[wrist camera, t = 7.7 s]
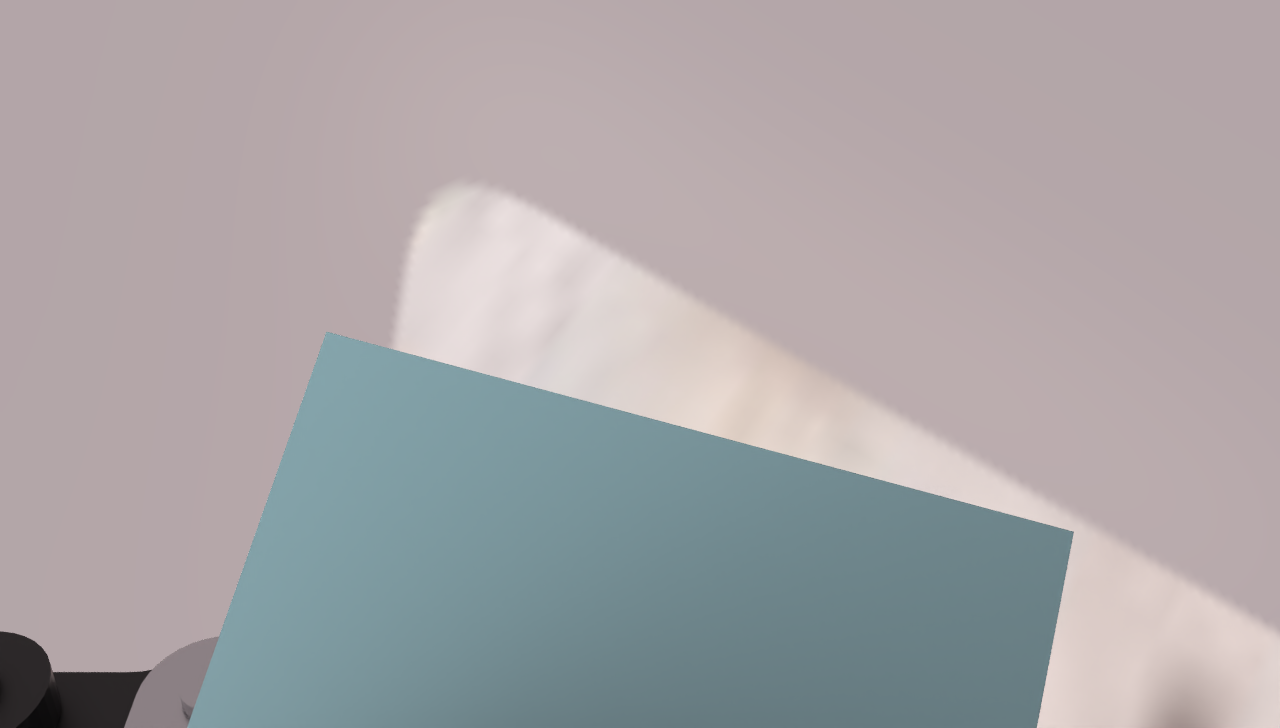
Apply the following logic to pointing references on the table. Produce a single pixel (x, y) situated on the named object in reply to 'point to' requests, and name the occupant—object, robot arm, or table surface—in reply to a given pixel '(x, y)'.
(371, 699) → the teal block
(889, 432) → the table surface
